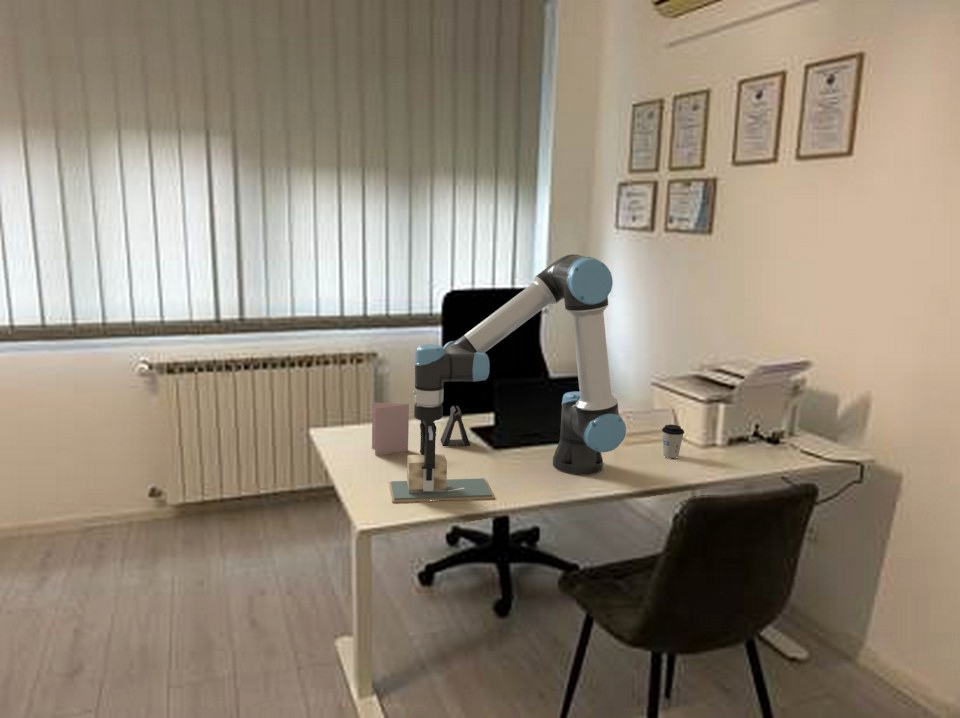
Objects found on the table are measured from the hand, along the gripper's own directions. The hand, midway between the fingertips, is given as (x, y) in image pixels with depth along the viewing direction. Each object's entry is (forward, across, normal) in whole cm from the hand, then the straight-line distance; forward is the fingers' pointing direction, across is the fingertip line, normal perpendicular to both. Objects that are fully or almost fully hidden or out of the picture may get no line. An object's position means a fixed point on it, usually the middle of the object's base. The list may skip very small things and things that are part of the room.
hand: (426, 485), depth 199 cm
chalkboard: (+2, 0, +4) cm, 4 cm away
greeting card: (+2, -33, -8) cm, 34 cm away
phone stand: (+2, -40, +14) cm, 42 cm away
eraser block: (+1, 0, 0) cm, 1 cm away
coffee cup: (+2, -22, +81) cm, 84 cm away
